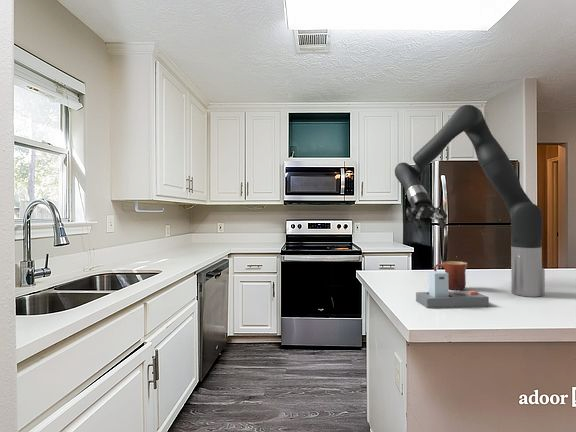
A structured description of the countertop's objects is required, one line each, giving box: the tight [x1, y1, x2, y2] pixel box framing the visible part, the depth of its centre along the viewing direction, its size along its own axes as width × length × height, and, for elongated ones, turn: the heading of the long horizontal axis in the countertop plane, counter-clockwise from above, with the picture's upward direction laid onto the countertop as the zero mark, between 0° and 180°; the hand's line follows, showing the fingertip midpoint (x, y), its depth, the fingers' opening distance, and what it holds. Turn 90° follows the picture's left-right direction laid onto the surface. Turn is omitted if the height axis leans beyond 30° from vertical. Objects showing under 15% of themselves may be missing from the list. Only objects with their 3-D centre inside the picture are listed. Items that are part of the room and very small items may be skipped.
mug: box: [433, 260, 468, 291], centre depth 141 cm, size 12×9×10 cm
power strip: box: [415, 290, 490, 309], centre depth 119 cm, size 20×9×4 cm, turn 92°
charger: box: [428, 270, 450, 297], centre depth 118 cm, size 4×5×10 cm
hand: (432, 227), depth 133 cm, fingers open, 8 cm apart
